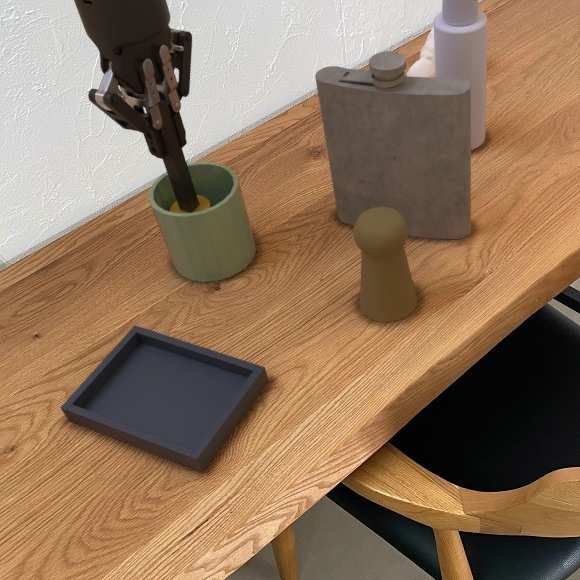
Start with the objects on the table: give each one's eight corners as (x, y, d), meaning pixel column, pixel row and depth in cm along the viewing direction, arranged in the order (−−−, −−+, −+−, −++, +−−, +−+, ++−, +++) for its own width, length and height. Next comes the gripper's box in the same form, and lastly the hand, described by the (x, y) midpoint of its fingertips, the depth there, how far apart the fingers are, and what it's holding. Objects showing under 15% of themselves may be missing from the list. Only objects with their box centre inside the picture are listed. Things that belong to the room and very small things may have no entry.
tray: (68, 421, 76) (59, 407, 75) (141, 339, 83) (134, 324, 81) (202, 472, 71) (196, 459, 70) (269, 381, 78) (264, 366, 76)
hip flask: (473, 223, 91) (474, 53, 75) (465, 246, 88) (463, 76, 73) (343, 205, 94) (318, 40, 79) (331, 226, 92) (303, 61, 77)
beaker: (157, 270, 89) (130, 204, 82) (203, 220, 95) (182, 154, 88) (226, 290, 86) (205, 224, 79) (271, 237, 92) (254, 171, 85)
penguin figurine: (485, 9, 104) (424, 55, 100) (488, 68, 111) (431, 113, 107) (448, -4, 107) (388, 40, 103) (453, 55, 114) (397, 98, 110)
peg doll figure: (405, 327, 81) (398, 242, 72) (351, 315, 83) (337, 231, 74) (425, 288, 84) (419, 203, 76) (372, 277, 86) (361, 193, 78)
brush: (167, 229, 87) (124, 114, 77) (189, 206, 90) (151, 90, 79) (200, 238, 86) (161, 122, 75) (222, 214, 88) (187, 98, 78)
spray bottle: (494, 144, 100) (499, -41, 83) (451, 159, 99) (448, -26, 82) (470, 121, 104) (470, -60, 87) (429, 135, 102) (421, -46, 85)
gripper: (125, -64, 72) (179, 109, 86) (23, 3, 65) (99, 182, 78) (193, -55, 70) (237, 122, 84) (95, 16, 63) (161, 198, 76)
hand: (170, 150), depth 81 cm, fingers closed on brush
